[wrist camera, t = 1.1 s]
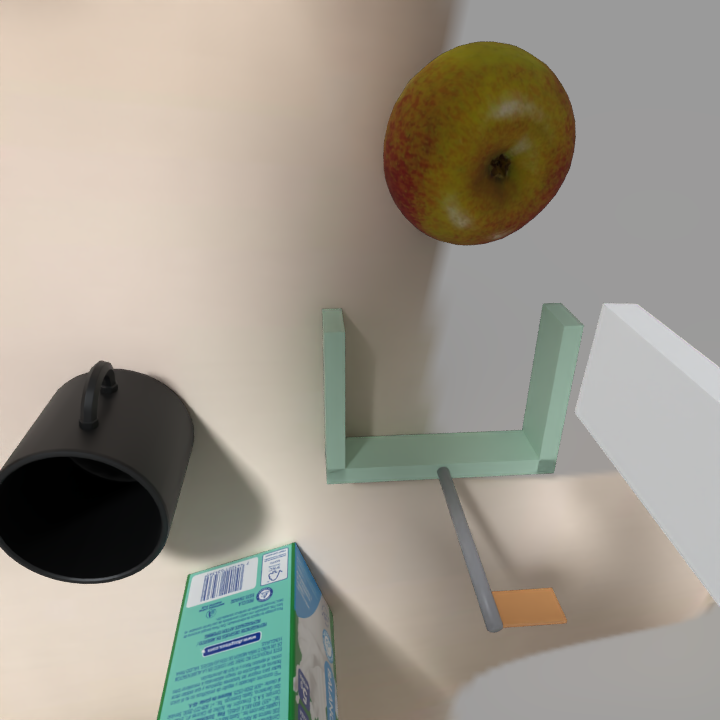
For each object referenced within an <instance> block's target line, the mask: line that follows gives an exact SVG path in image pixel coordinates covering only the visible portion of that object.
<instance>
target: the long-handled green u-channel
mask: <svg viewBox="0 0 720 720" xmlns="http://www.w3.org/2000/svg"><path fill="white" fill-rule="evenodd" d="M322 323H323V371H324V419H325V457H326V474H327V484H342V483H363V482H383V481H404V480H424V479H439V481H440V484H441V487H442V490H443V493H444V496H445V499H446V502H447V506H448V509H449V512H450V515H451V518H452V521H453V524H454V527H455V530H456V534H457V537H458V540H459V543H460V546H461V549H462V552H463V555H464V559H465V562H466V565H467V568H468V571H469V574H470V577H471V580H472V584H473V587H474V590H475V593H476V596H477V599H478V602H479V605H480V609H481V612H482V615H483V618H484V621H485V624H486V627H487V630H488V631H489V632H498V631H500V630H501V629H502V628H506V627H521V626H535V625H549V624H563V623H567V619H566V617H565V615H564V613H563V611H562V609H561V606H560V604H559V602H558V600H557V598H556V596H555V593H554V591H553V589H552V588H540V589H525V590H510V591H494V592H491V589H490V586H489V583H488V580H487V578H486V575H485V572H484V569H483V566H482V563H481V561H480V558H479V555H478V552H477V549H476V546H475V543H474V541H473V538H472V535H471V532H470V529H469V526H468V523H467V521H466V518H465V515H464V512H463V509H462V506H461V503H460V501H459V498H458V495H457V492H456V489H455V486H454V483H453V481H452V478H465V477H486V476H506V475H527V474H548V473H554V469H555V465H556V460H557V455H558V450H559V445H560V440H561V435H562V430H563V426H564V421H565V415H566V411H567V406H568V401H569V396H570V391H571V386H572V381H573V376H574V371H575V367H576V362H577V357H578V352H579V347H580V342H581V337H582V332H583V327H584V325H583V324H582V323H581V322H580V321H579V320H578V319H577V318H576V317H575V316H574V315H573V314H571V312H569V311H568V309H567V308H565V307H564V306H563V305H562V304H561V303H548V304H543V307H542V313H541V319H540V325H539V331H538V337H537V344H536V349H535V356H534V361H533V368H532V374H531V379H530V386H529V391H528V398H527V404H526V410H525V416H524V422H523V428H522V430H511V431H488V432H467V433H465V432H464V433H440V434H416V435H393V436H369V437H345V329H344V322H343V316H342V309H322Z"/></svg>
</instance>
